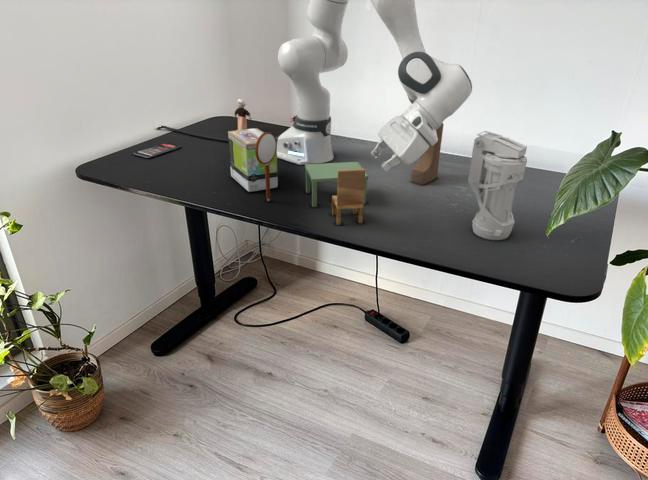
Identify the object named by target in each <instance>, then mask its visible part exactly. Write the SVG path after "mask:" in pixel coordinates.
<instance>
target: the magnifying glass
mask: <svg viewBox="0 0 648 480" xmlns="http://www.w3.org/2000/svg"><path fill="white" fill-rule="evenodd" d="M275 137H276V136H275V135H274V134H273V133H272V132H270V131H266V132H265V131H264V133H263V134H262V135H261V136H260V137H259V138H258V140H257V143H256V147H255V154H256V158H257V160H258V161H259V162H260V163H262V164H265V180H266V189H265V199H266V200H267V202H270V201H271V188H270V174H269V164H268V163H269V162H271V161H272V159H273V158H274V156H275V153H276V149H277V142H276V138H275Z"/></svg>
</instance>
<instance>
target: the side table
mask: <svg viewBox="0 0 648 480" xmlns="http://www.w3.org/2000/svg"><path fill="white" fill-rule="evenodd" d="M304 168H305V193H306V194H311V207H312V208H317V207H318V183H328V182H337V180H338V170H349V169H363V167H362V165H361V164H360V163H359V162H358V161H348V162H347V161H346V162H345V161H344V162H325V163H316V164H305V165H304ZM368 180H369V176H368V174H367V173H366V172H365V185H364V203H363V205H366V203H367V188H368V187H367V186H368Z"/></svg>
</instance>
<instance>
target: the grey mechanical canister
mask: <svg viewBox="0 0 648 480" xmlns="http://www.w3.org/2000/svg"><path fill="white" fill-rule="evenodd" d="M483 133H484V134H483ZM476 136H477V137H476V138H474V141H473V147H472V154H471V159H470V164H469V172H468V179H467V182H468V184H469V186H470V189H471V191H472V192H473V193H474V194H475V195H476V201H477V204H478V208H479V209H478V211H477V212H476V213H475V216H474V218H473V219H472V225H471V226H472V227H471V228H472V232H473V233H474V234H475V235H476V236H477V237H479V238H483V239H485V240H489V241H490V240H491V241H501V240H502V241H503V240H505V239H507V238H509V237H510V235H511V233H512V231H513V228H514V225H515V218H514V213H513V212H512V209H513V206H514V205H513V204H514V201H515V200H514V199H515V195H516V190H517V185H518V182H521V181H522V180H523V179H524V177H525V172H526V169H527V168H526V167H527V163H528V158H527V156H526V155H527V154H526V153H527V148H528V146H527V145H524V144H522V143H521V142H518V141H516V140H513V139H511V138H510V137H506V136H503V135H501V134H498V133H495V132H490V131H487V130H483V131H482V132H479V133H477V134H476Z"/></svg>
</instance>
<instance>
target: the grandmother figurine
mask: <svg viewBox="0 0 648 480" xmlns="http://www.w3.org/2000/svg"><path fill="white" fill-rule="evenodd" d="M236 104H237V107H238V108H236V109H235V110H234V112H233V118H237V129H236V130H245V129H248V123H247V122H248V121H247V118H248V119H249V120H252V119H253V118H252V115H251V113H250V111H249V110H247V109H246V108H245V107H246V105H247V103H246V101H245V100H244V99H243V98H237V101H236Z"/></svg>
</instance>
